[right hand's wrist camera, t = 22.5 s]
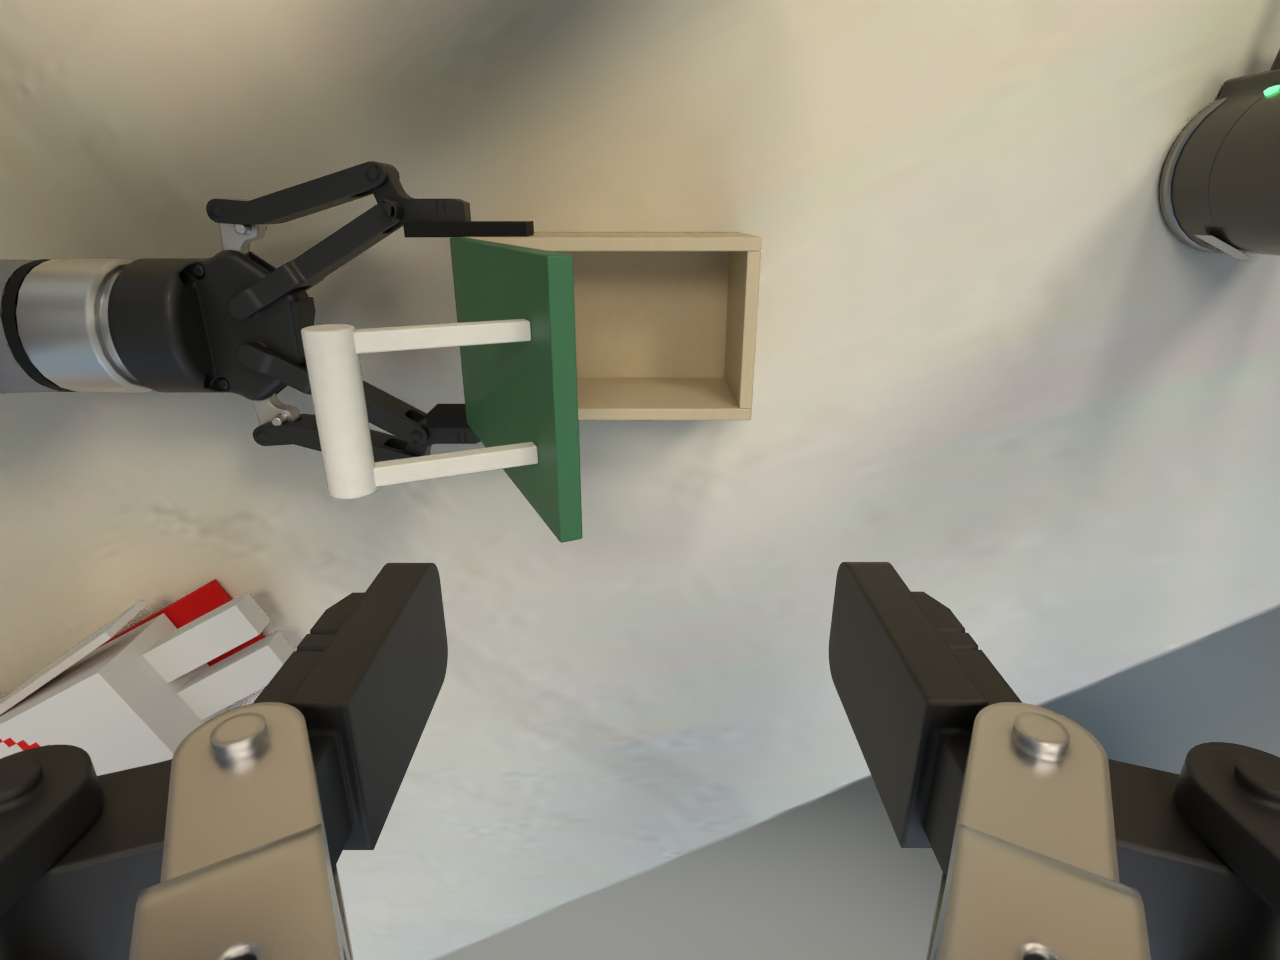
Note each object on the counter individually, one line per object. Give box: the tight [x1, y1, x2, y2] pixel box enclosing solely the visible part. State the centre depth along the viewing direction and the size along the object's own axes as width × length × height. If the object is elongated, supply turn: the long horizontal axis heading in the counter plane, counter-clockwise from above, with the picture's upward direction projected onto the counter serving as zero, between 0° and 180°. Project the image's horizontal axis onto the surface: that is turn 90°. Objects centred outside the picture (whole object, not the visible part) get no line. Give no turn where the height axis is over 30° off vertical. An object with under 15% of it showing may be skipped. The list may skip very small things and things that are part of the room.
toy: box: [0, 580, 295, 776], centre depth 52 cm, size 12×13×30 cm
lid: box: [301, 238, 582, 542], centre depth 29 cm, size 17×10×8 cm
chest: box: [462, 232, 761, 420], centre depth 42 cm, size 16×10×9 cm, turn 90°
